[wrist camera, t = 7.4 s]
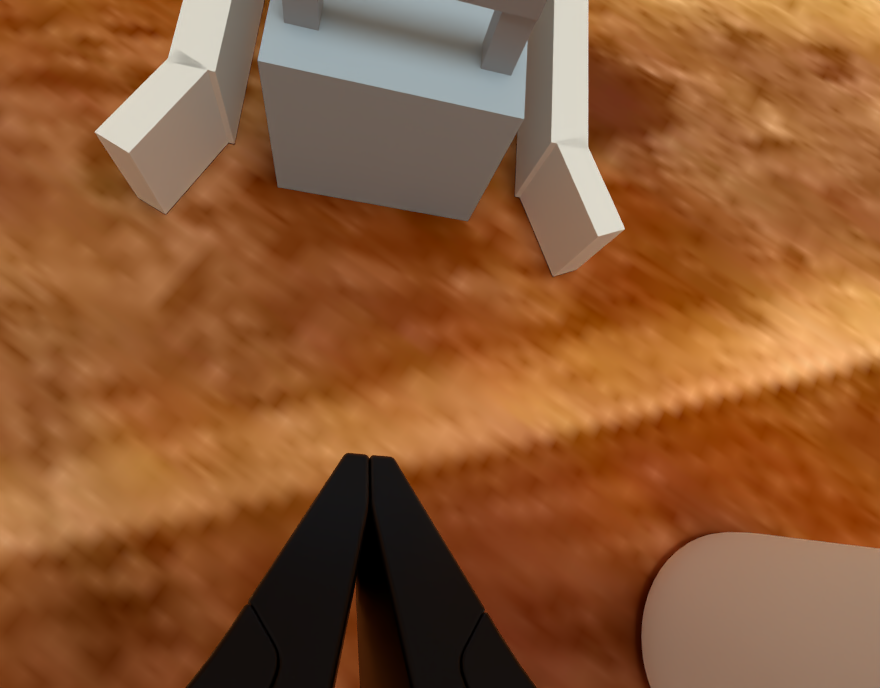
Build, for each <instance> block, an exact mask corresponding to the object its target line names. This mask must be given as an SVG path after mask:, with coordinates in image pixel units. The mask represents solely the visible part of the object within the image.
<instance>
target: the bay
mask: <svg viewBox="0 0 880 688" xmlns="http://www.w3.org/2000/svg"><path fill="white" fill-rule="evenodd" d="M263 5H264V0H183V3H182V7H181V11H180V14H179V18H178V22H177V26H176V30H175V34H174V37H173V41H172V45H171V49H170V53H169V57H168V59H167V60H166V61H165V62H164V63H163V64H162V65H161V66H160V67H159V68H158V69H157V70H156V71H155V72H154V73H153V74H152V75H151V76H150V77H149V78H148V79H147V80H146V81H145V82H144V83H143V84H142V85H141V86H140V87H139V88H138V89H137V90H136V91H135V92H134V93H133V94H132V95H131V96H130V97H129V98H128V99H127V100H126V101H125V102H124V103H123V104H122V105H121V106H120V107H119V108H118V109H117V110H116V111H115V112H114V113H113V114H112V115H111V116H110V117H109V118H108V119H107V120H106V121H105V122H104V123H103V124H102V125H101V126H100V127H99V128H98V129H97V130H96V131H95V133H96V135H97V136H98V138H99V139H100V141H101V142H102V144H103V146H104V147H105V149H106V150H107V152H108V153H109V155H110V156H111V158H112V159H113V161H114V162H115V164H116V165H117V167H118V168H119V170H120V171H121V173H122V174H123V176H124V177H125V179H126V180H127V182H128V183H129V185H130V186H131V188H132V189H133V191H134V192H135V194H136V195H137V197H138V198H139V199H141V200H143V201H144V202H146V203H147V204H149V205H151V206H152V207H154V208H156V209H157V210H159V211H161V212H162V213H164V214H167V212H168V211H169V210H170V209H171V208H172V207H173V206H174V204H175V203H176V202H177V201H178V200H179V199H180V198H181V196H182V195H183V194H184V193H185V192H186V191H187V190H188V188H189V187H190V186H191V185H192V184H193V183H194V182H195V180H196V179H197V178H198V177H199V176H200V175H201V174H202V172H203V171H204V170H205V169H206V168H207V167H208V166H209V164H210V163H211V162H212V161H213V160H214V159H215V158H216V156H217V155H218V154H219V153H220V152H221V151H222V150H223V148H224V147H225V146H226V145H227V144H228V143H232V144H235V139H236V134H237V130H238V125H239V120H240V115H241V110H242V106H243V101H244V96H245V91H246V86H247V82H248V77H249V72H250V67H251V62H252V58H253V53H254V48H255V43H256V38H257V33H258V29H259V24H260V19H261V14H262V9H263ZM515 197H520V199H521V202H522V204H523V206H524V209H525V211H526V214H527V216H528V218H529V221H530V223H531V226H532V228H533V230H534V233H535V235H536V238H537V240H538V242H539V245H540V247H541V249H542V252H543V254H544V257H545V259H546V261H547V264H548V266H549V269H550V271H551V273H552V276H553V277H554V276H557V275H560V274H564V273H567V272H570V271H574V270H576V269H578V268H579V267H580V266H581V265H582V264H584V263H585V262H586V261H587V260H588V259H590V258H591V257H592V256H593V255H594V254H596V253H597V252H598V251H599V250H600V249H602V248H603V247H604V246H605V245H606V244H608V243H609V242H610V241H611V240H612V239H614V238H615V237H616V236H617V235H618V234H620V233H621V232H622V231H623V230H624V229H625V228H624V226H623V223H622V221H621V219H620V217H619V215H618V212H617V210H616V208H615V206H614V203H613V201H612V199H611V197H610V195H609V192H608V190H607V188H606V186H605V183H604V181H603V179H602V177H601V175H600V172H599V170H598V168H597V166H596V164H595V161H594V159H593V157H592V155H591V152H590V150H589V148H588V0H547V2H546V4H545V6H544V8H543V10H542V12H541V15H540V17H539V19H538V21H536V23H535V25H534V27H533V29H532V31H531V34H530V36H529V38H528V44H527V67H526V89H525V112H524V120H523V122H522V124H521V126H520V128H519V129H518V131H517V154H516V177H515Z"/></svg>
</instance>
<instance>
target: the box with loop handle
mask: <svg viewBox="0 0 880 688" xmlns="http://www.w3.org/2000/svg"><path fill="white" fill-rule="evenodd" d="M546 2H547V0H270V4H269V8H268V13H267V18H266V23H265V27H264V32H263V37H262V42H261V46H260V51H259V56H258V67H259V73H260V79H261V86H262V92H263V98H264V104H265V110H266V117H267V123H268V129H269V135H270V142H271V148H272V154H273V160H274V167H275V173H276V179H277V185H278V187H280V188H286V189H292V190H297V191H303V192H308V193H314V194H319V195H325V196H331V197H336V198H342V199H347V200H353V201H358V202H364V203H370V204H375V205H381V206H386V207H392V208H397V209H403V210H408V211H414V212H420V213H425V214H431V215H436V216H442V217H447V218H453V219H459V220H464V221H468V220H469V218H470V216H471V215H472V213H473V211H474V209H475V207H476V205H477V204H478V202H479V200H480V198H481V196H482V195H483V193H484V191H485V189H486V187H487V186H488V184H489V182H490V180H491V178H492V177H493V175H494V173H495V171H496V169H497V167H498V166H499V164H500V162H501V160H502V158H503V157H504V155H505V153H506V151H507V149H508V148H509V146H510V144H511V142H512V140H513V139H514V137H515V135H516V133H517V131H518V129H519V128H520V126H521V124H522V122H523V120H524V112H525V89H526V67H527V44H528V38H529V36H530V34H531V31H532V29H533V27H534V25H535V23H536V21H538V19H539V17H540V15H541V12H542V10H543V8H544V6H545V4H546Z"/></svg>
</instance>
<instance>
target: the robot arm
mask: <svg viewBox="0 0 880 688" xmlns="http://www.w3.org/2000/svg"><path fill="white" fill-rule="evenodd" d="M355 583H356V610H357V632H358V654H359V676H360V688H536V686H535V685H534V683H533V682H532V681H531V679H530V678H529V677H528V675H527V674H526V672H525V671H524V670H523V668H522V667H521V665H520V664H519V663H518V661H517V659H516V658H515V656H514V655H513V653H512V652H511V650H510V649H509V647H508V645H507V644H506V642H505V641H504V639H503V638H502V636H501V634H500V633H499V631H498V630H497V628H496V626H495V625H494V623H493V621H492V619H491V618H490V616H489V614H488V613H486V612H485V613H484V611H485V609H484V607H483V605H482V603H481V602H480V600H479V598H478V597H477V595H476V593H475V592H474V590H473V588H472V587H471V585H470V583H469V582H468V580H467V578H466V577H465V575H464V573H463V572H462V570H461V569H460V567H459V565H458V564H457V562H456V560H455V559H454V557H453V555H452V554H451V552H450V550H449V549H448V547H447V545H446V544H445V542H444V540H443V539H442V537H441V535H440V534H439V532H438V530H437V529H436V527H435V526H434V524H433V522H432V521H431V519H430V517H429V516H428V514H427V512H426V511H425V509H424V507H423V506H422V504H421V502H420V501H419V499H418V497H417V496H416V494H415V492H414V491H413V489H412V487H411V486H410V484H409V482H408V481H407V479H406V478H405V476H404V474H403V473H402V471H401V469H400V468H399V466H398V464H397V463H396V461H395V459H394V458H392V457H387V456H376V455H373V456H371V457H370V458H369V457H368V456H367V455H364V454H353V453H347V454H345V455H344V456H343V458H342V459H341V461H340V462H339V464H338V465H337V467H336V468H335V470H334V471H333V473H332V474H331V476H330V477H329V479H328V480H327V482H326V483H325V485H324V486H323V488H322V489H321V491H320V493H319V494H318V496H317V497H316V499H315V500H314V502H313V503H312V505H311V506H310V508H309V509H308V511H307V512H306V514H305V515H304V517H303V518H302V520H301V521H300V523H299V524H298V526H297V528H296V529H295V531H294V532H293V534H292V535H291V537H290V538H289V540H288V541H287V543H286V544H285V546H284V547H283V549H282V550H281V552H280V553H279V555H278V556H277V558H276V559H275V561H274V562H273V564H272V566H271V567H270V569H269V570H268V572H267V573H266V575H265V576H264V578H263V579H262V581H261V582H260V584H259V585H258V587H257V588H256V590H255V591H254V593H253V594H252V596H251V597H250V599H249V601H248V604H247V605H245V606H244V608H243V609H242V611H241V612H240V614H239V615H238V617H237V618H236V620H235V621H234V623H233V624H232V626H231V627H230V629H229V630H228V632H227V633H226V634H225V636H224V637H223V639H222V640H221V642H220V643H219V644H218V646H217V647H216V649H215V650H214V651H213V653H212V654H211V656H210V657H209V659H208V660H207V661H206V663H205V664H204V665H203V666H202V668H201V669H200V670H199V671H198V673H197V674H196V675H195V676H194V678H193V679H192V680H191V682H190V683H189V684H188V685H187V687H186V688H335V683H336V678H337V673H338V668H339V663H340V658H341V653H342V648H343V643H344V638H345V633H346V628H347V623H348V618H349V613H350V608H351V603H352V598H353V593H354V588H355Z"/></svg>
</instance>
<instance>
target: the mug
mask: <svg viewBox="0 0 880 688" xmlns="http://www.w3.org/2000/svg"><path fill="white" fill-rule="evenodd" d="M641 640H642V654H643V661H644V667H645V671H646V674H647V678H648V682H649V685H650V687H651V688H880V549H878V548H870V547H862V546H854V545H846V544H838V543H830V542H822V541H813V540H805V539H797V538H789V537H781V536H773V535H765V534H757V533H744V532H723V533H716V534H709V535H706V536H703V537H699V538H697V539H695V540H693V541H691V542H689V543H687V544H686V545H685V546H683V547H682V548H680V549H679V550H678V551H676V552H675V553H674V554H673V555H672V556H671V557H670V558H669V559H668V560H667V561H666V563H665V564H664V565H663V567H662V568H661V569H660V571H659V573H658V574H657V576H656V578H655V579H654V581H653V584H652V586H651V588H650V591H649V593H648V597H647V600H646V604H645V607H644V613H643V619H642V633H641Z"/></svg>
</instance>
